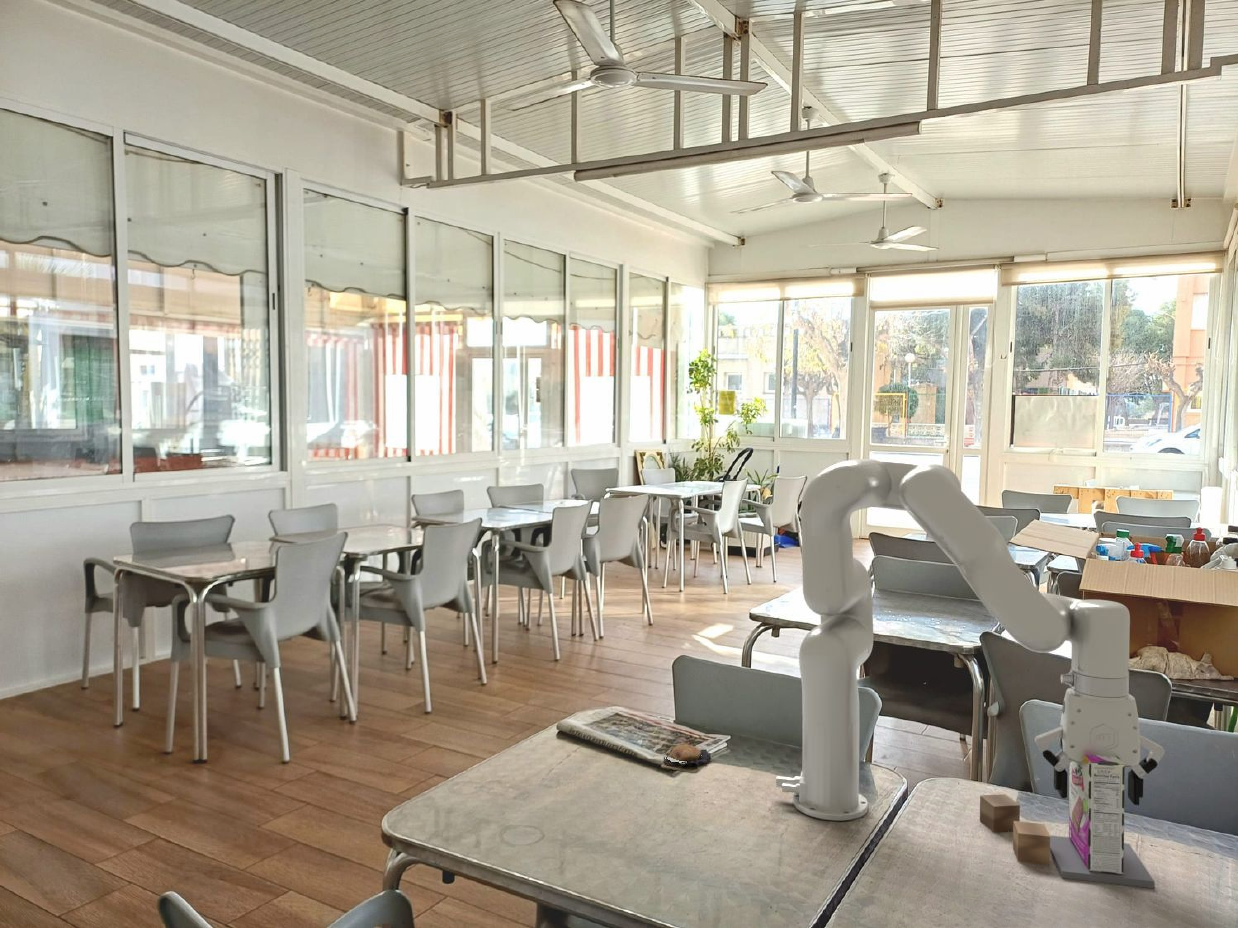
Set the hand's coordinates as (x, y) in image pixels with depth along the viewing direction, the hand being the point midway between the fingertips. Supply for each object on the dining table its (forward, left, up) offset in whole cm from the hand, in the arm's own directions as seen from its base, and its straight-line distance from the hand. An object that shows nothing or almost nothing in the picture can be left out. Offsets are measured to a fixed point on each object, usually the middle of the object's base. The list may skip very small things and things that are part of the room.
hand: (1097, 797), depth 133 cm
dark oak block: (-12, +10, -10) cm, 19 cm away
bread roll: (-67, +26, -11) cm, 72 cm away
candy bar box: (0, 0, -9) cm, 9 cm away
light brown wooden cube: (-9, 0, -10) cm, 13 cm away
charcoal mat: (0, 0, -10) cm, 10 cm away
